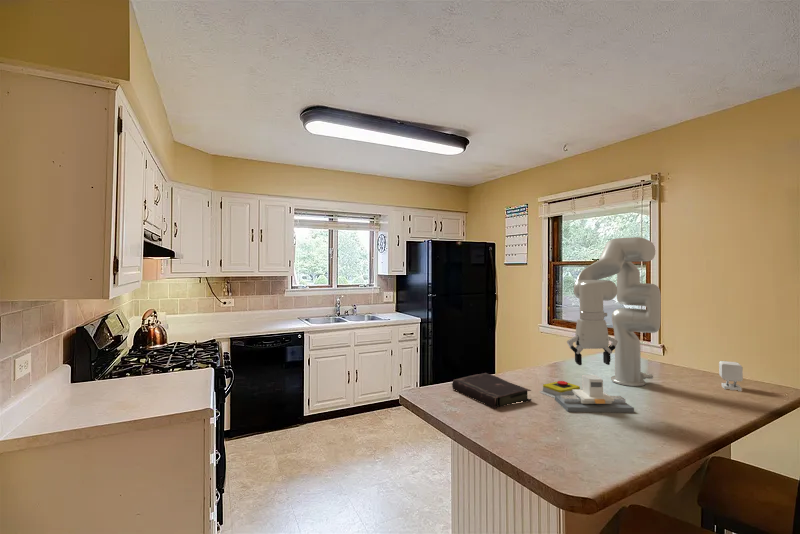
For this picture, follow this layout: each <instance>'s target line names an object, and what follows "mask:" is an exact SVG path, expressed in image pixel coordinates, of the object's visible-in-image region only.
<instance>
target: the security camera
mask: <svg viewBox="0 0 800 534" xmlns="http://www.w3.org/2000/svg"><path fill="white" fill-rule="evenodd" d="M718 369H719V370H718V372H719V373H718V374H719V377H721V379H722V380H724V381H725V382H721V387H722V389H723V388H724V389H723V390H726V389H730V390H729V391H734V390H738V391H737V392H742V391H743V388H742V386H740V384H737V382H743V379H744V373H743V369H744V367H743V366H742V365H741V364H740V363H739V362H737V361H726V360H725V361H723V360H720V361H719V362H718ZM729 382H732V383H729Z"/></svg>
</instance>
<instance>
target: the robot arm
mask: <svg viewBox="0 0 800 534" xmlns="http://www.w3.org/2000/svg"><path fill="white" fill-rule="evenodd" d="M655 255H656V246H655V244H654V243H653V242H652V241H651V240H649V239H647V238H644V237H638V236H632V237H617V238H612V239H610V240H608V241H607V242H606V243H605V245H604V248H603V250H602V252H601V254H600V256H599V259H598V260H597V261H595V262H593V263H592V264H590V265H588V266H587V267H585V268H584V269H582V270H581V271H580V272H579V273H578V276H577V278H576V280H575V282H574V284H573V285H574V286H573V294H574V296H575V297H576V298H577V299H578V300H579V318H578V319H577V321H576V326H575V336H574V337H573V336H572V338H570V339H568V340H567V341H566V343H567V345H568V347H569V349H571V351H573V353H574V361H575V363H576V364H577V365H578V366H582V365H583V363H582V361H583V360H582V357H583V356H582V354H581V353H582V351H583V350H590V349H591V350H592V349H595V350H598V349H602V350H603V353H602V354H603V355H602V358H603V359H602V360H603V363H604V364H605V365H607V366H610V364H611V358H612V357H611V354H612V353H613V351H614V375H613V376H611V377H610V381H611V382H613V383H615V384H619V385H623V386H626V387H627V386H628V387H629V386H630V387H642V386H645V385H646V381H645V380H646V379H649V380H650V379H653V378H654V375H653V374H652V373H645V372H642V367H641V366H642V365H641V363H642V361H641V360H642V359H641V353H642V352H641V340H640V338H639V337H638V335H637V334H636V332H638V333H649V334H653V333H654V334H655V333H657V332H659V330H660V329H661V318H662V317H661V316H662V315H661V314H662V313H661V312H662V311H661V310H662V306H661V305H662V304H661V303H662V297H661V296H662V295H661V290H660V288H659V286H658V285H657V284H654V283H649V282H648V283H644V282H643V283H642V282H641V272H640V270H639V268H638V267H637V265H635V264H634V263H633V262H640V263H642V262H650V261H652V260H653V259H654V258H655ZM615 275H616V283H615V282H613V281H612V280H610V279H609V280H608V279H607V278H609V277H612V276H615ZM605 278H606V279H605ZM615 298H616V300H617V303H618V304H620V305H625V306H638V307H639V306H640V307H646V308H628V307H622V308H621V307H620V308H617V309H615V310H613V311H612V313H611V322H612V327H613V335H614V336H613V337H614V338H613V337H611V336H609V330H608V325H607V322H606V321H607V320H605V318H606V317H608V312H605V311H604V301H605V302H606V301H607V302H608V301H611V300H613V299H615ZM610 342H611V344H610ZM574 343H575V346H574Z"/></svg>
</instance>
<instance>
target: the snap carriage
mask: <svg viewBox="0 0 800 534" xmlns="http://www.w3.org/2000/svg"><path fill="white" fill-rule="evenodd" d="M572 392H573V393H574V395H573V396H579V397H580V398H581V403H582V404H612V401H614V398H612V397H611V396H612V395H609V394H607V393H606V392H604V391H603V397H589V396H588V395H587V394H586V393H584V392H583V391H582V389H580V390H578V389H572Z"/></svg>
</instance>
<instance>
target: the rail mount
mask: <svg viewBox="0 0 800 534" xmlns="http://www.w3.org/2000/svg"><path fill="white" fill-rule="evenodd" d="M610 396H611V397H612V398H614V401H612V404H582V403H581V398H580V397H579V396H574V395H573V396H571V395H561V396H555V398H554V401H555V402H557V403H558V404H559V405H560V406H561V408H563V409H564V410H565V411H566V412H568V413H570V412H571V413H574V412H575V413H584V412H585V413H635V407H633V406H632V405H630V404H629V403H627V402H626V398H624V397H623V396H621V395H610Z"/></svg>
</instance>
